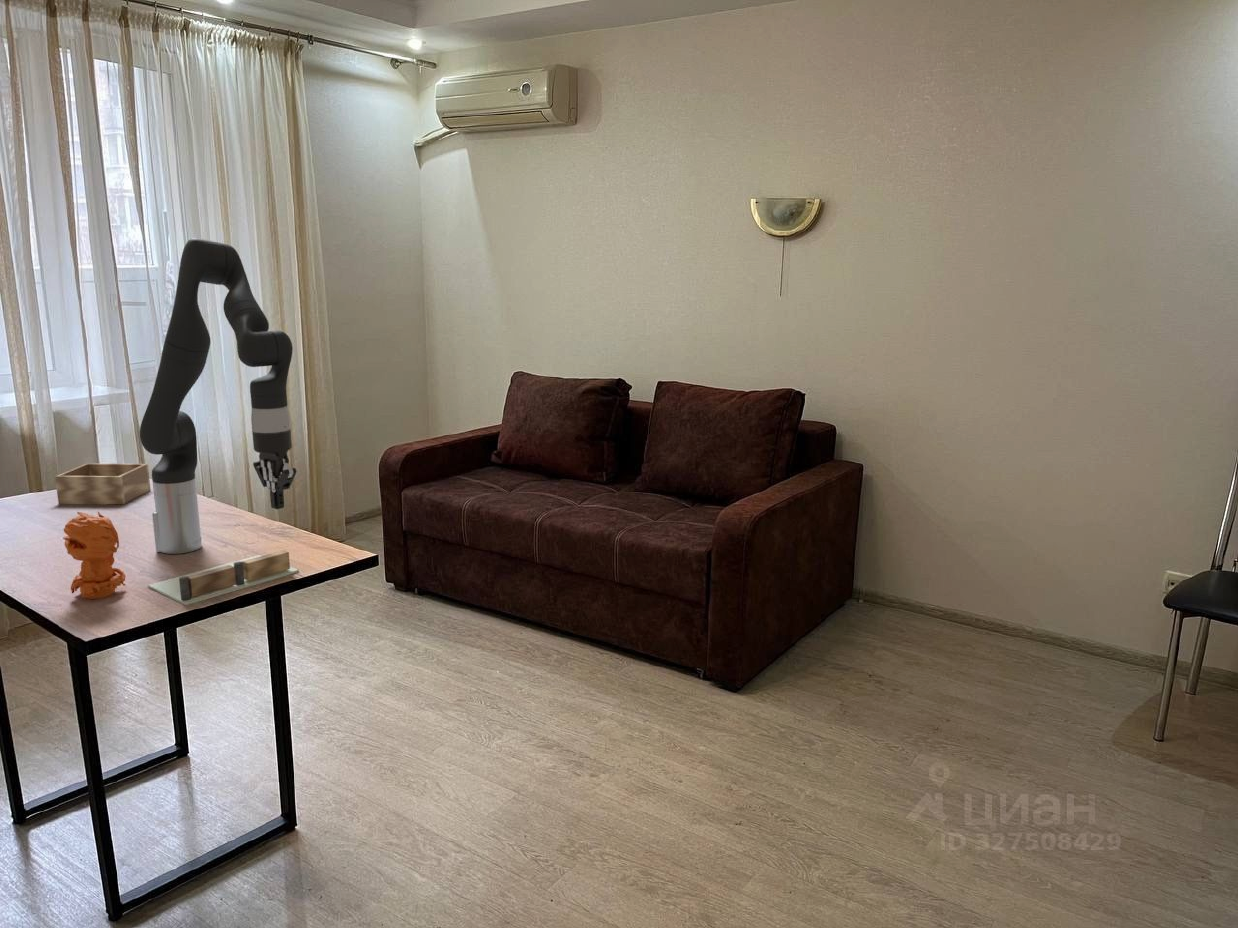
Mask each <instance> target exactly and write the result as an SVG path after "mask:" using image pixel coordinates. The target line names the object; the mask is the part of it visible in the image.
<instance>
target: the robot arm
mask: <svg viewBox="0 0 1238 928" xmlns="http://www.w3.org/2000/svg"><path fill="white" fill-rule="evenodd" d="M179 262H180V264H179V268H178V269H179V271H178V274H177V275H178V278H177V285H176V290H175V297H174V303H173V308H172V312H171V316H170V321H169V325H168V327H167V331H166V335H165V338H164V343H163V347H162V351H161V352H162V353H161V357H160V361H159V366H158V370H157V373H156V377H155V381H154V385H153V389H152V392H151V395H150V398H149V401H148V404H147V407H146V409H145V412H144V414H143V416H142V420H141V423H140V428H139V439H140V442H141V445H142V447H143V449H144V450H145V451H147V452H148V453H150V454H151V455H159V456H160V455H161V458H160V460H159V462H158V463H157V464H156V465H155V466H153V468H152V469H151V481H152V489H153V497H154V507H155V508H154V509H155V511H154V512H152V514H151V516H152V524H153V525H152V526H153V533H154V534H153V535H154V544H155V545H154V546H155V551H156V552H158V553H159V552H160V553H163V554H169V555H176V554H186V553H191V552H193V551H197V550H199V549H201V547H202V546H203V545H202V535H201V534H202V533H201V524H200V522H201V521H200V512H199V503H198V502H199V501H198V492H197V491H198V490H197V483H196V481H197V480H196V469H197V466H198V445H197V444H198V441H197V439H198V437H197V431H196V426H195V424H194V421H193V419H192V418H191V417H190V416H189V414H188V413H186V412H184V411H182V410H180V409H181V406H182V404H183V402H184V400H185V398H186V397H187V395H188V393H189V392H190V390H191V389H192V388H193V387H194V385H195V384H196V382H197V381H198V379H199V378H200V377H201V375H202V374H203V371H204V369H205V366H206V363H207V360H208V355H209V350H210V348H211V335H210V333H209V329H208V328H207V324H206V322H205V320H204V318H203V315H202V313H201V310H200V307H199V306H200V305H199V303H198V302H199V301H198V300H199V299H198V297H199V288H200V287H199V286H200V284H201V283H206V284H210V285H219V286H223V287H226V289H227V290H228V292H227V294H226V296H225V298H224V301H223V307H222V308H223V312H224V313H223V314H224V316H225V318H226V320H227V321H228V324H229V325H230V327H231V329H232V330H233V332H234V334H235V335H234V336H235V339H236V349H237V356H238V358H239V360H240V362H241V363H242V364H243V365H245V366H247V367H251V368H259V367H270V366H271V368H270V369H269V372H268V373H266V374H265V375H263V376H259V377H257V378H254V379H253V380H251V381H250V384H249V393H250V394H249V395H250V405H251V412H250V413H251V415H250V416H251V417H250V419H251V420H250V422H251V434H252V444H253V450H254V452H255V453H259V455H258V459H259V460H258V461H254V462H252V463H253V464H252V465H253V468H254V470H255V472H256V474H257V476H258V479H259V480H260V482H261V484H262V487H264V488H267V489H266V490H267V492H269V496H270V497H269V498H270V499H269V500H270V508H272V509H274V510H280V509H283V508H285V495H284V492H285V491H286V490H289V489H290V488H291V485H293V484H292V483H293V481H294V480H295V477H296V475H297V472H298V471H297V468H296V467H291V466H290V464H289V463H290V460H289V457H288V456H289V455H288V451H290V450H291V449H292V447H293V444H292V443H293V441H292V431H291V429H292V428H291V417H290V411H289V406H288V396H287V392H288V391H287V384H288V383H287V382H288V377H289V371H290V366H291V362H292V357H293V349H294V348H293V343H292V339H291V338H290V336H289V335H288V334H287V333H286V332H285V331H281V330H271V331H270V330H269V329H270V325H269V320H268V317H266V315H265V313H264V311H263V310H262V308H261V307H260V305H259V304H258V302H257V301H256V298H255V297H254V294H253V292H252V289H251V286H250V283H249V280H248V277H247V274H246V271H245V268H244V265H243V263H242V260H241V258H240V255H239V253H238V251H237V250H236V249H235V248H234V247H233V246H232V245H229V244H227V243H224V242H218V241H213V240H208V239H203V238H198V237H193V238H190V239H188V240H187V241H186V243H185V245H184V248H183V250H182V254H181V257H180V261H179Z"/></svg>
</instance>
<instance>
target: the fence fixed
mask: <svg viewBox="0 0 1238 928" xmlns="http://www.w3.org/2000/svg"><path fill="white" fill-rule="evenodd" d="M238 561H239V560H238ZM234 562H235V561H234ZM181 576H182V577H180V576H179V577H180V578H179V582H180V592H181V600H182V601H187V600H190V599H191V597H195V596H199V595H202V594H206V593H209V592H213V591H216V590H219V589H223V588H226V587H230V586H233V585H242V584H244V571H243V562H241V561H239V562H235V563H234V567H233V566H231V565H227V566H224V567H220V568H216V569H213V570H209V571H205V572H202V573H198V574H194V575H191V576H183V575H181Z"/></svg>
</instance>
